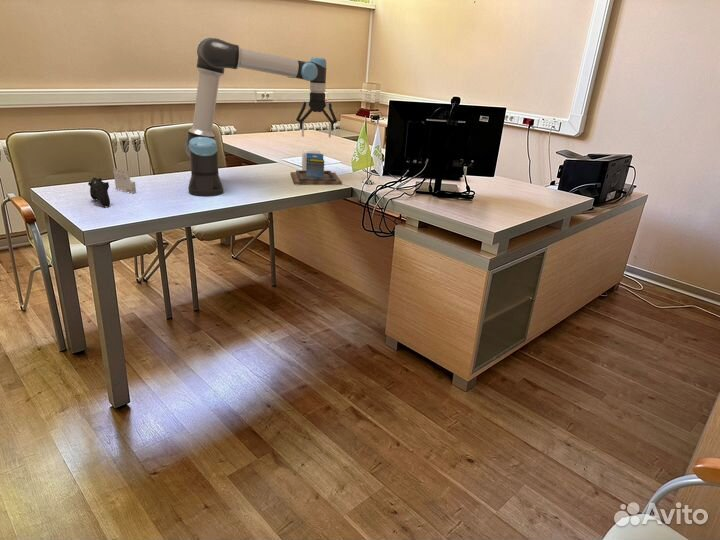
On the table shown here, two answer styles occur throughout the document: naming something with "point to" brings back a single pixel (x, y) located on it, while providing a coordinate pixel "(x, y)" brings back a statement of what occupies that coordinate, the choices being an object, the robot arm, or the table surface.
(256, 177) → the table surface
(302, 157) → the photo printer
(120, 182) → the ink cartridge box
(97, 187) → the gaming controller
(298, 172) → the stand
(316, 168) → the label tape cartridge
